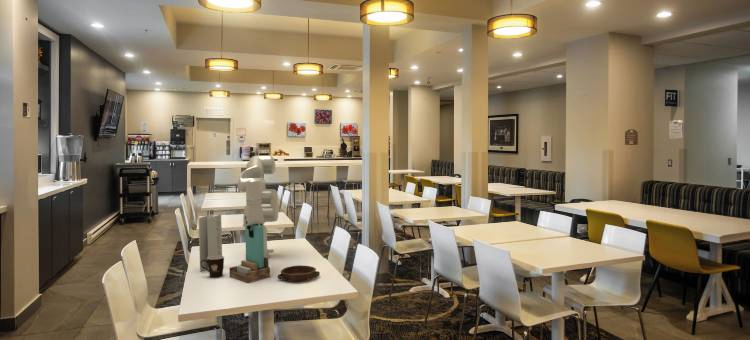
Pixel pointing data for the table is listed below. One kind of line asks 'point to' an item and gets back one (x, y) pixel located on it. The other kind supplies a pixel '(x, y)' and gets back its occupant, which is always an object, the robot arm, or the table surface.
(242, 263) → the offcut oak
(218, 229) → the tall grey panel
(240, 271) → the offcut grey
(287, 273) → the dish
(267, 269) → the rack
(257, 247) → the tall sheet
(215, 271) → the coffee mug
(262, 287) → the table surface
